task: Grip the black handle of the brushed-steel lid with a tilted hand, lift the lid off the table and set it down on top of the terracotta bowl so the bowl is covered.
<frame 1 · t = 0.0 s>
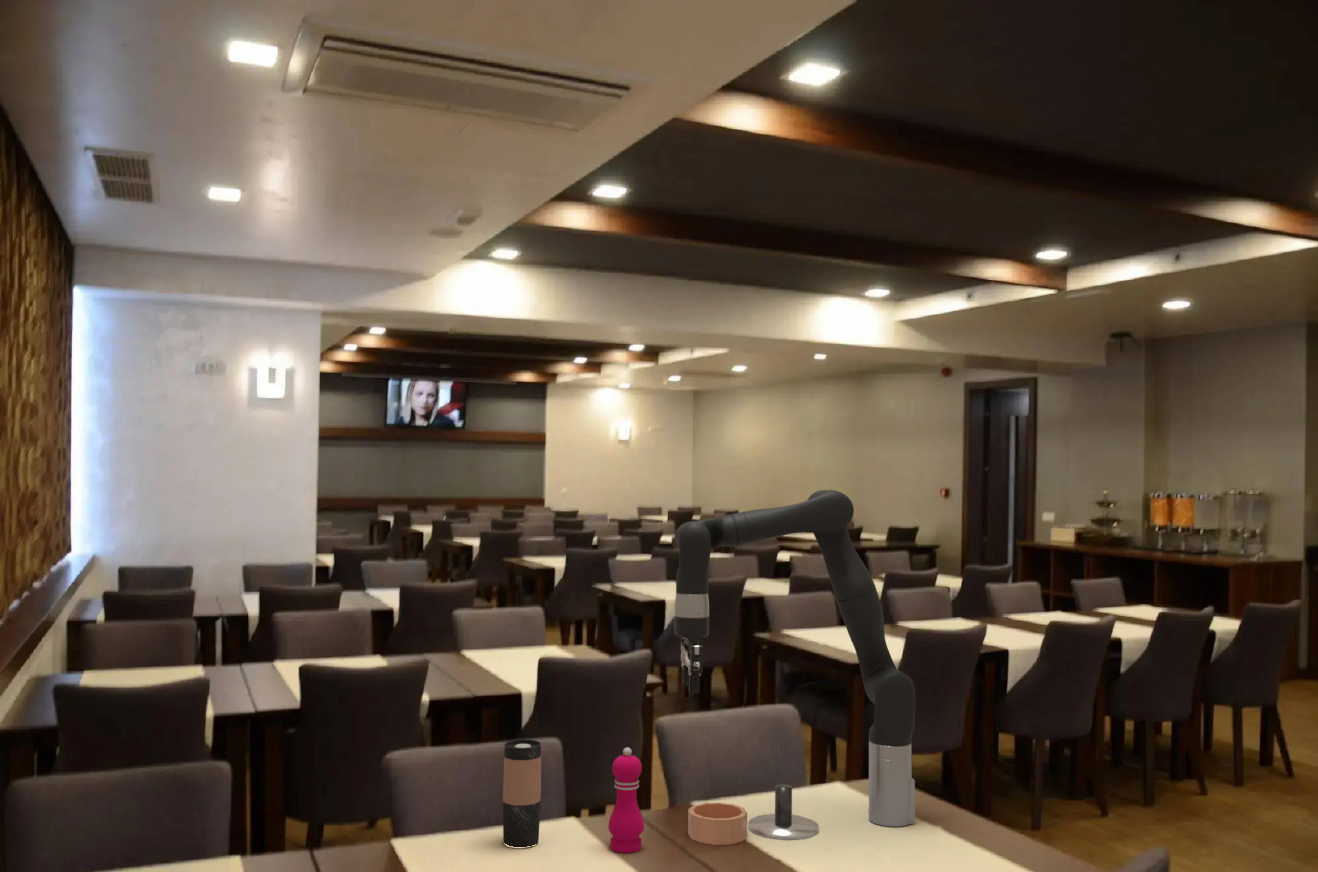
hand: (691, 689, 229), 29 cm above the table, tool pointing down, fingers open, 8 cm apart
pepper mill: (625, 848, 213), on the table
travel mug: (520, 843, 215), on the table
terracotta bowl: (717, 835, 222), on the table
steel lid: (783, 829, 227), on the table
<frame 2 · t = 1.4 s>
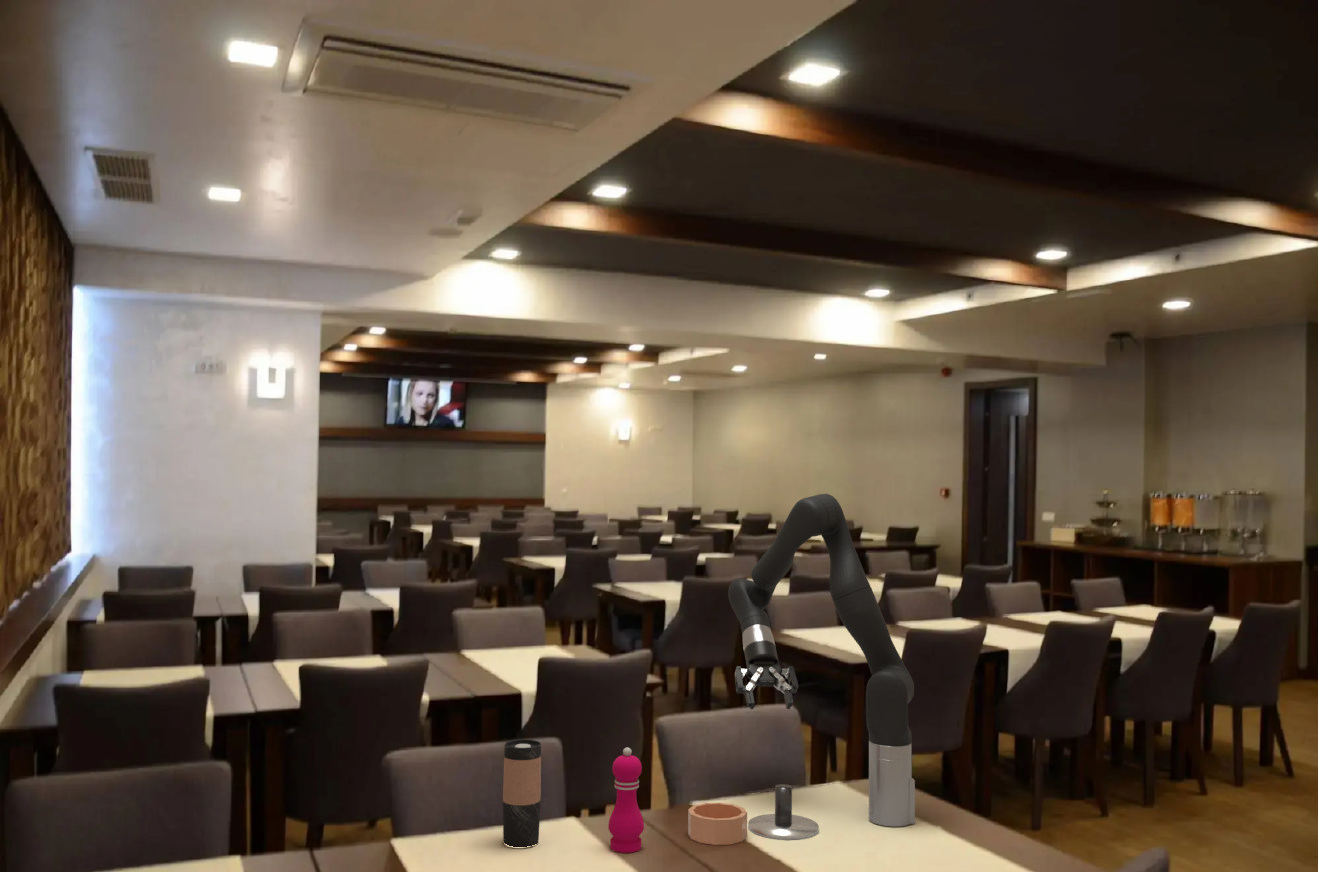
hand: (770, 707, 240), 23 cm above the table, tool tilted 45°, fingers open, 8 cm apart
nothing on the table moved.
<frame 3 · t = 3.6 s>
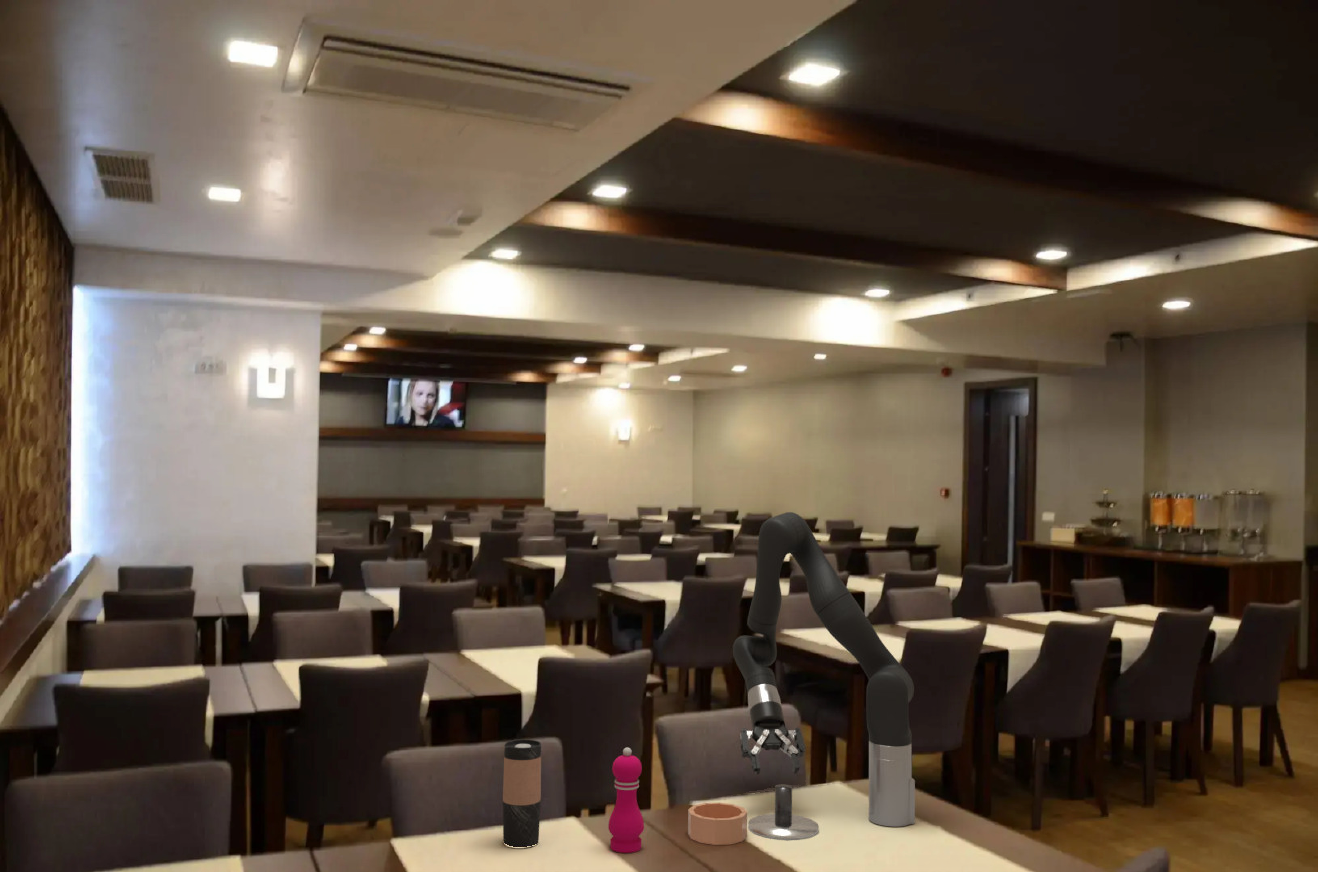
hand: (777, 772, 233), 10 cm above the table, tool tilted 45°, fingers open, 8 cm apart
nothing on the table moved.
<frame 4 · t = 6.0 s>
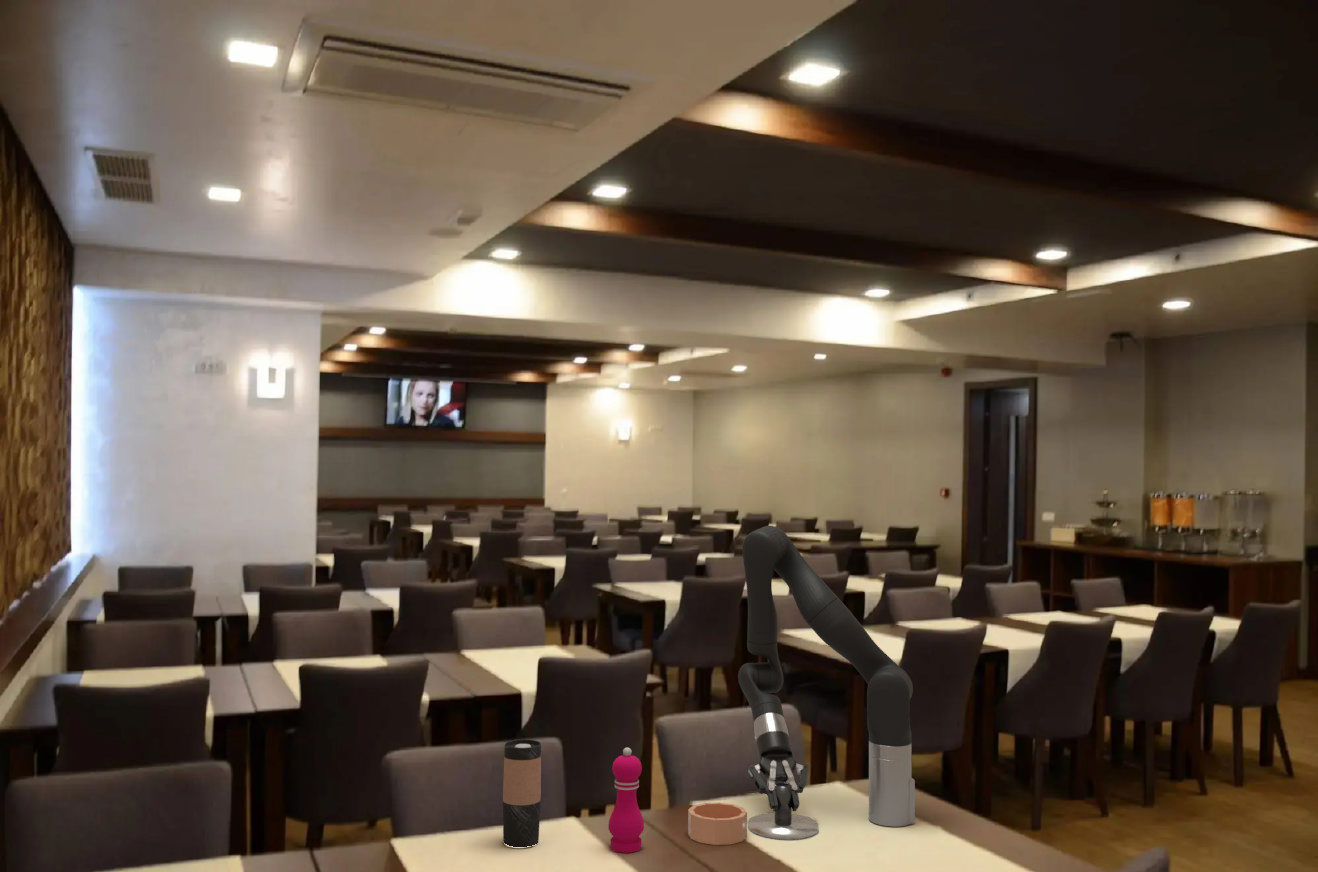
hand: (785, 809, 225), 5 cm above the table, tool tilted 45°, fingers closed on steel lid, 3 cm apart
steel lid: (783, 828, 227), on the table, touching gripper
everything else where it was.
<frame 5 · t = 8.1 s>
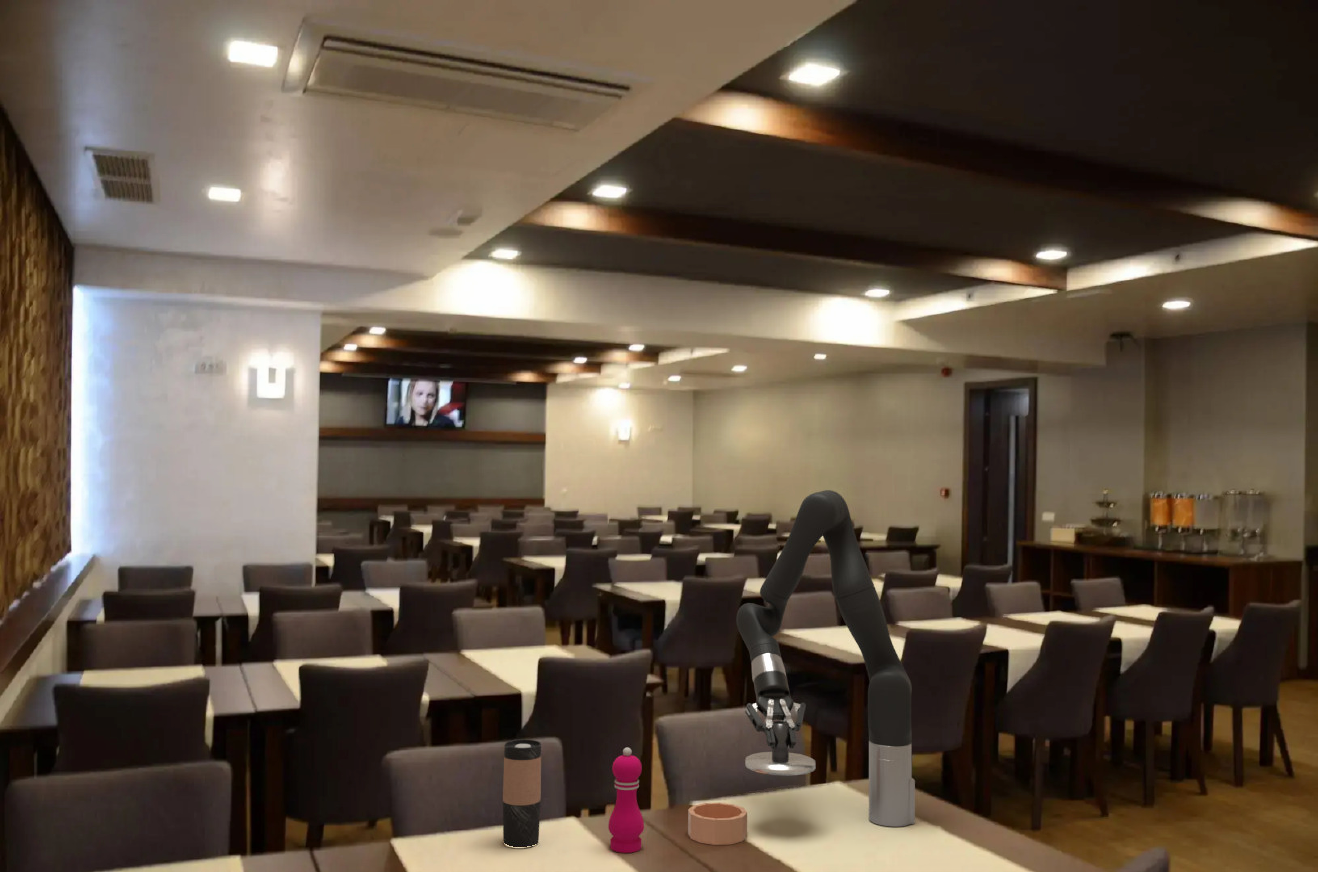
hand: (782, 746, 226), 18 cm above the table, tool tilted 45°, fingers closed on steel lid, 3 cm apart
steel lid: (780, 766, 228), point 13 cm above the table, touching gripper
everything else where it was.
when the fingers open (11 cm above the table, at t = 10.6 s): steel lid drops 1 cm, resting on terracotta bowl.
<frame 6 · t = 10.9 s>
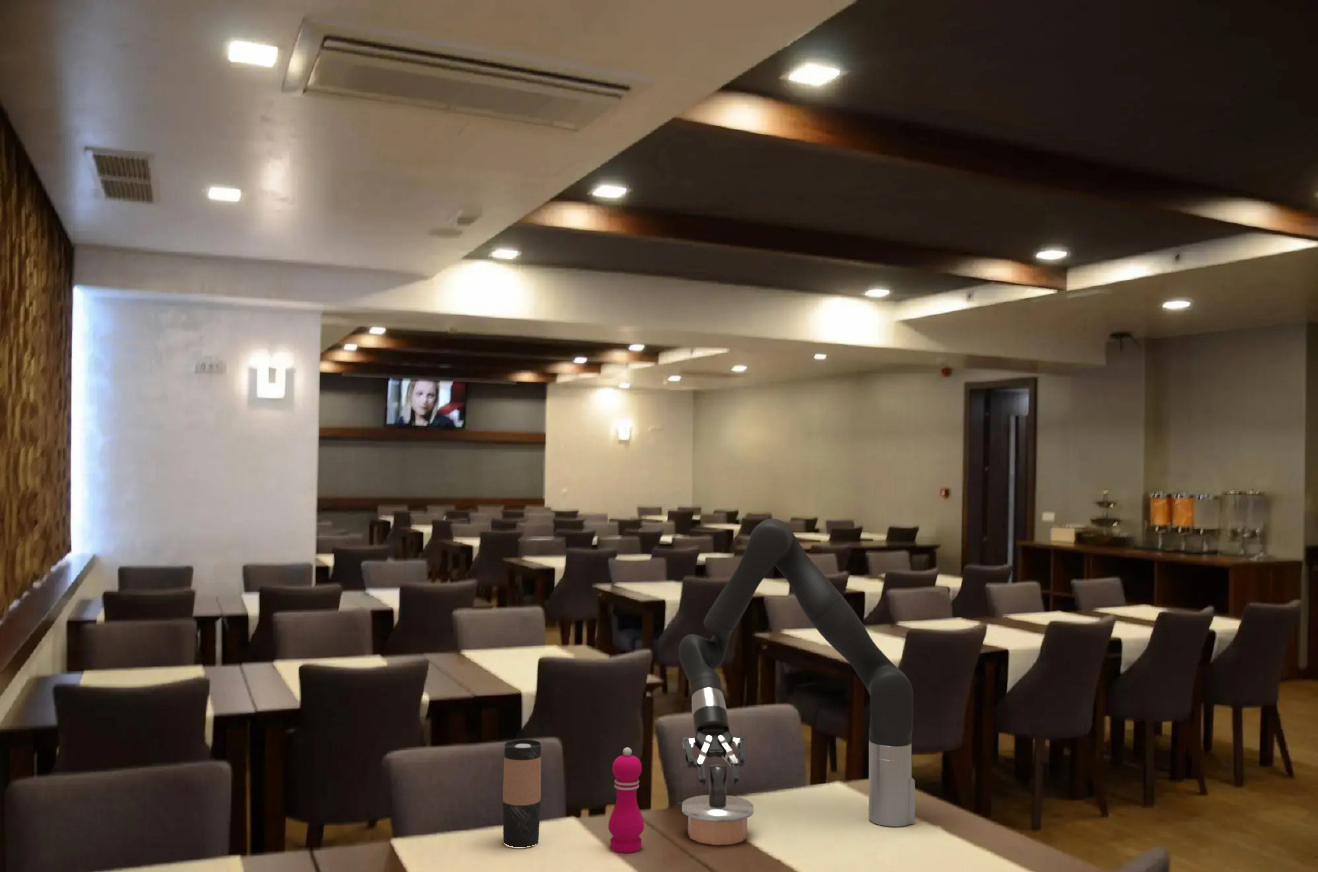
hand: (719, 782, 221), 11 cm above the table, tool tilted 45°, fingers open, 6 cm apart
steel lid: (717, 810, 222), point 5 cm above the table, touching terracotta bowl
everything else where it was.
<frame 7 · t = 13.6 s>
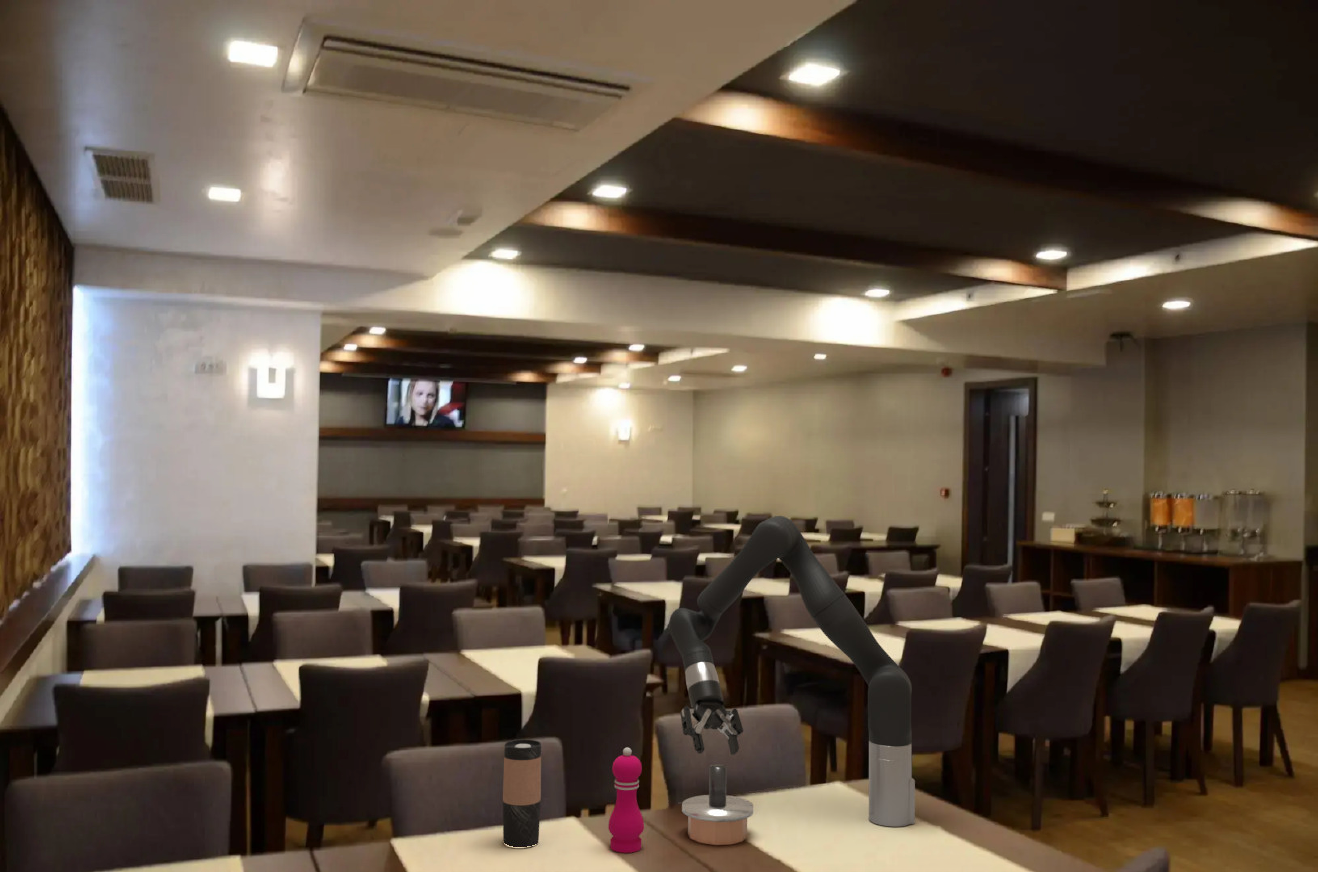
hand: (718, 752, 234), 14 cm above the table, tool tilted 40°, fingers open, 8 cm apart
nothing on the table moved.
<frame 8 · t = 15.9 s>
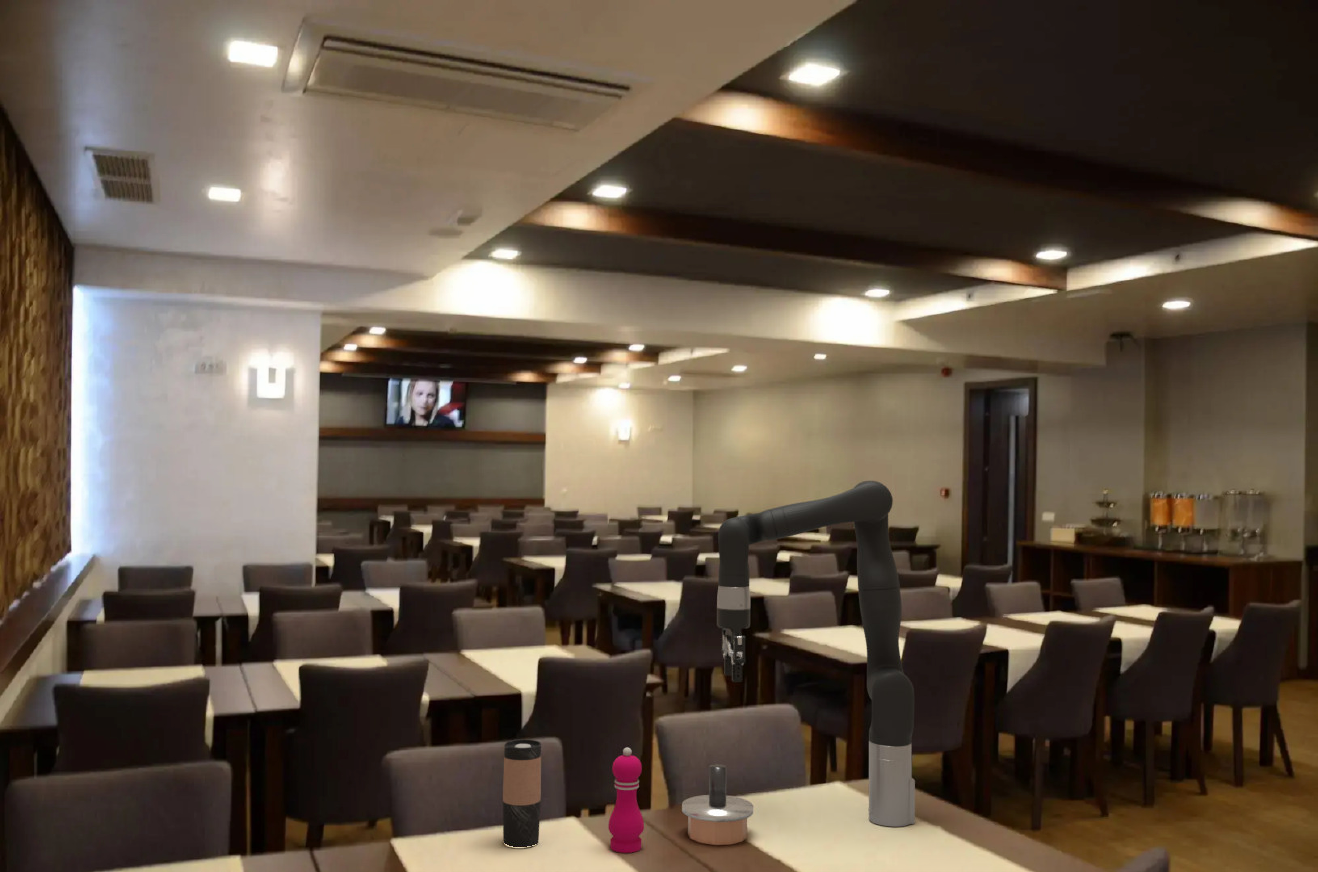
hand: (733, 678, 238), 30 cm above the table, tool pointing down, fingers open, 8 cm apart
nothing on the table moved.
at the end: steel lid 0.2 cm off-centre on the terracotta bowl, point 5.0 cm above the terracotta bowl's base; steel lid tilted 0°; the gripper is holding nothing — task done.
